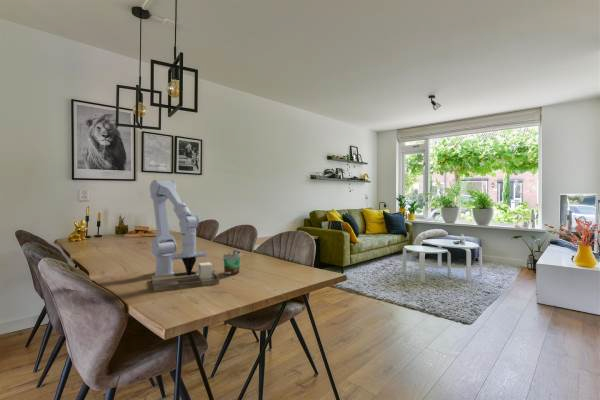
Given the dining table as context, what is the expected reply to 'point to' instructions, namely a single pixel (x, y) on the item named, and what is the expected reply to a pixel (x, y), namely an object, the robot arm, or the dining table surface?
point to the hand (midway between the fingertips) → (188, 274)
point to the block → (205, 269)
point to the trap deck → (182, 281)
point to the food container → (232, 263)
